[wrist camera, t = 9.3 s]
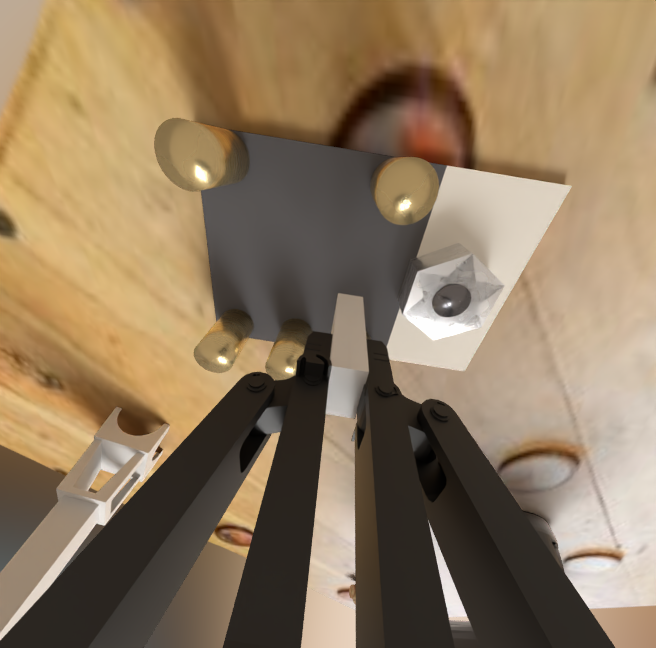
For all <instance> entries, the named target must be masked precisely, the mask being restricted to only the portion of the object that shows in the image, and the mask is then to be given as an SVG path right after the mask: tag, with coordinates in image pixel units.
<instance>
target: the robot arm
mask: <svg viewBox="0 0 656 648" xmlns="http://www.w3.org/2000/svg"><path fill="white" fill-rule="evenodd" d="M325 414H329V415H335V416H341V417H348V418H354V419H355V417H356V414H357V423H356V427H355V430H354V433H353V436H352V441H354V440H355V564H356V648H615V647H614V645H613V644H612V642H611V641H610V639H609V638H608V636H607V635H606V633H605V632H604V631H603V629H602V627H601V626H600V624H599V623H598V621H597V620H596V619H595V617H594V616H593V614H592V613H591V611H590V610H589V608H588V607H587V605H586V604H585V602H584V601H583V599H582V598H581V596H580V595H579V593H578V592H577V590H576V589H575V588H574V586H573V585H572V583H571V582H570V580H569V579H568V577H567V576H566V574H565V572H564V568H563V564H562V560H561V557H560V554H559V551H558V543H557V540H556V538H555V536H554V534H553V532H552V530H551V528H550V527H549V525H548V523H547V522H546V521H545V520H544V519H543V518H541V517H539V516H537V515H534V514H531V513H527V512H523V511H522V510H521V508H520V507H519V505H518V504H517V502H516V501H515V499H514V498H513V496H512V495H511V493H510V492H509V490H508V489H507V487H506V486H505V484H504V483H503V482H502V480H501V479H500V477H499V476H498V474H497V473H496V471H495V470H494V468H493V467H492V465H491V464H490V462H489V461H488V459H487V458H486V457H485V455H484V454H483V452H482V451H481V449H480V448H479V446H478V445H477V443H476V442H475V440H474V439H473V437H472V436H471V434H470V433H469V432H468V430H467V429H466V427H465V426H464V424H463V423H462V421H461V420H460V418H459V417H458V415H457V414H456V412H455V411H454V410H453V409H452V408H451V407H450V406H448V405H447V404H446V403H444V402H442V401H439V400H435V399H429V400H425V401H424V402H423V403H422V404H419V403H417V402H414V401H412V400H410V399H408V398H406V397H404V396H403V395H402V394H401V391H400V389H399V388H398V387H397V386H396V385H395V384H394V382H393V376H392V371H391V366H390V362H389V356H388V350H387V347H386V346H385V345H384V343H383V342H382V341H376V340H370V339H366V328H365V316H364V303H363V297H360V296H353V295H347V294H341V293H338V297H337V302H336V308H335V314H334V319H333V325H332V331H331V334H329V333H323V332H317V331H313V332H312V333H311V334H310V335H308V337H307V341H306V345H305V349H304V353H303V354H302V355H301V356H299V358H298V359H297V366H296V374H295V375H294V376H293V377H291V378H288V379H284V380H275V381H274V379H273V378H272V377H271V376H270V375H268V374H266V373H262V372H252V373H250V374H247V375H245V376H244V377H242V378H241V379H240V380H239V381H238V382H237V383H236V384H235V386H234V387H233V388H232V389H231V390H230V391H229V392H228V393H227V394H226V395H225V396H224V398H223V399H222V400H221V401H220V402H219V403H218V404H217V405H216V406H215V407H214V408H213V409H212V411H211V412H210V413H209V414H208V415H207V416H206V417H205V418H204V419H203V420H202V421H201V423H200V424H199V425H198V426H197V427H196V428H195V429H194V430H193V431H192V432H191V433H190V435H189V436H188V437H187V438H186V439H185V440H184V441H183V442H182V443H181V444H180V445H179V447H178V448H177V449H176V450H175V451H174V452H173V453H172V454H171V455H170V456H169V457H168V458H167V460H166V461H165V462H164V463H163V464H162V465H161V466H160V467H159V468H158V469H157V470H156V472H155V473H154V474H153V475H152V476H151V477H150V478H149V479H148V480H147V481H146V482H145V484H144V485H143V486H142V487H141V488H140V489H139V490H138V491H137V492H136V493H135V494H134V496H133V497H132V498H131V499H130V500H129V501H128V502H127V503H126V504H125V505H124V506H123V508H122V509H121V510H120V511H119V512H118V513H117V514H116V515H115V516H114V517H113V518H112V520H111V521H110V522H109V523H108V524H107V525H106V526H105V527H104V528H103V529H102V530H101V531H100V533H99V534H98V535H97V536H96V537H95V538H94V539H93V540H92V541H91V542H90V543H89V545H88V546H87V547H86V548H85V549H84V550H83V551H82V552H81V553H80V554H79V555H78V556H77V558H76V559H75V560H74V561H73V562H72V563H71V564H70V565H69V566H68V567H67V568H66V570H65V571H64V572H63V573H62V574H61V575H60V576H59V577H58V578H57V579H56V580H55V582H54V583H53V584H52V585H51V586H50V587H49V588H48V589H47V590H46V591H45V592H44V593H43V595H42V596H41V597H40V598H39V599H38V600H37V601H36V602H35V603H34V604H33V605H32V607H31V608H30V609H29V610H28V611H27V612H26V613H25V614H24V615H23V616H22V617H21V619H20V620H19V621H18V622H17V623H16V624H15V625H14V626H13V627H12V628H11V629H10V631H9V632H8V633H7V634H6V635H5V636H4V637H3V638H2V639H1V640H0V648H144V647H145V645H146V643H147V642H148V639H149V638H150V637H151V635H152V633H153V631H154V630H155V628H156V626H157V625H158V623H159V622H160V620H161V618H162V616H163V615H164V613H165V611H166V610H167V608H168V606H169V605H170V603H171V601H172V600H173V598H174V596H175V595H176V593H177V591H178V590H179V588H180V586H181V585H182V583H183V581H184V580H185V578H186V576H187V575H188V573H189V571H190V570H191V568H192V566H193V565H194V563H195V561H196V560H197V558H198V556H199V555H200V553H201V551H202V550H203V548H204V546H205V545H206V543H207V541H208V540H209V538H210V536H211V535H212V533H213V531H214V530H215V528H216V526H217V525H218V523H219V521H220V520H221V518H222V516H223V515H224V513H225V511H226V510H227V508H228V506H229V505H230V503H231V501H232V500H233V498H234V496H235V495H236V493H237V491H238V490H239V488H240V486H241V485H242V483H243V481H244V480H245V478H246V476H247V475H248V473H249V471H250V470H251V468H252V466H253V465H254V463H255V461H256V460H257V458H258V456H259V455H260V453H261V451H262V450H263V448H264V446H265V444H266V443H267V441H268V439H269V438H270V436H271V434H272V433H277V432H280V436H279V440H278V444H277V447H276V451H275V455H274V458H273V462H272V466H271V470H270V473H269V477H268V481H267V485H266V488H265V492H264V496H263V500H262V503H261V507H260V511H259V514H258V518H257V522H256V526H255V529H254V533H253V537H252V541H251V544H250V548H249V552H248V556H247V559H246V563H245V567H244V570H243V574H242V578H241V582H240V586H239V589H238V593H237V597H236V600H235V604H234V608H233V612H232V615H231V619H230V623H229V626H228V630H227V634H226V638H225V641H224V645H223V648H301V640H302V630H303V621H304V612H305V602H306V592H307V584H308V574H309V565H310V556H311V546H312V537H313V527H314V518H315V508H316V499H317V490H318V480H319V471H320V461H321V452H322V442H323V433H324V424H325ZM428 520H429V523H430V525H431V528H432V530H433V532H434V535H435V537H436V540H437V542H438V545H439V547H440V550H441V552H442V555H443V557H444V560H445V562H446V565H447V567H448V569H449V572H450V574H451V577H452V579H453V582H454V584H455V587H456V589H457V592H458V594H459V597H460V599H461V602H462V604H463V606H464V609H465V611H466V614H467V616H468V619H469V621H451V620H449V618H448V613H447V608H446V603H445V599H444V594H443V589H442V584H441V580H440V575H439V570H438V565H437V561H436V556H435V551H434V546H433V542H432V537H431V532H430V527H429V523H428Z"/></svg>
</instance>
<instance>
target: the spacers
mask: <svg viewBox="0 0 656 648" xmlns="http://www.w3.org/2000/svg"><path fill="white" fill-rule="evenodd" d="M154 147H155V154H156V157H157V160H158V163H159V165H160V167H161V169H162V170H163V172H164V173H165V175H166V176H167V177H168V178H169V179H170V180H171V181H172V182H173V183H174V184H175V185H177V186H178V187H180V188H182V189H185V190H188V191H201V190H206V189H210V188H215V187H220V186H225V185H229V184H234V183H238V182H240V181H242V180H243V179H244V178H245V177H246V175H247V173H248V170H249V166H250V158H249V153H248V150H247V147H246V145H245V144H244V142H243V141H242V139H241V138H240V137H239V136H238V135H237V134H235V133H234V132H232V131H230V130H227V129H223V128H219V127H215V126H210V125H206V124H202V123H198V122H193V121H189V120H185V119H181V118H172V119H168V120H166V121H165V122H163V123H162V124H161V125H160V126H159V128H158V130H157V132H156V135H155V141H154ZM370 191H371V195H372V198H373V200H374V201H375V203H376V205H377V207H378V209H379V211H380V212H381V214H382V215H383V216H384V218H385V219H387V220H388V221H390V222H391V223H394V224H397V225H408V224H412V223H415V222H417V221H419V220H421V219H422V218H423V217H425V216H426V215H427V214H428V213H429V212H430V210H431V209H432V207H433V206H434V204H435V202H436V199H437V196H438V192H439V180H438V176H437V173H436V171H435V169H434V168H433V166H432V165H431V164H430V163H429V162H427V161H426V160H424V159H421V158H417V157H396V158H390V159H387V160H385V161H384V162H382V163H381V164H380V165H379V166H378V167H377V168H376V170H375V171H374V173H373V175H372V178H371V183H370ZM253 328H254V324H253V321H252V319H251V317H250V316H249V315H248V314H247V313H245V312H244V311H241V310H238V309H230V310H227V311H226V312H224V314H223V315H222V316H221V317H220V318H219V320H218V321H217V322H216V323H215V324H214V326H213V327H212V328H211V329H210V330H209V332H208V333H207V334H206V335H205V337H204V338H203V339H202V340H201V341H200V343H199V344H198V345H197V346H196V348H195V349H194V357H195V359H196V361H197V362H198V364H199V365H200V366H202V367H203V368H205V369H206V370H208V371H211V372H215V373H223V372H226V371H228V370H230V369H231V367H232V366H233V364H234V362H235V361H236V359H237V357H238V355H239V354H240V352H241V350H242V348H243V347H244V345H245V343H246V341H247V340H248V338H249V336H250V334H251V333H252V331H253ZM311 333H312V329H311V327H310V325H309V324H308V323H306V322H305V321H303V320H301V319H289V320H287V321H285V322H284V323H283V324H282V326H281V328H280V331H279V333H278V335H277V338H276V340H275V343H274V345H273V347H272V350H271V352H270V355H269V357H268V359H267V362H266V366H265V367H266V371H267V373H268V374H269V375H270V376H271V377H272V378H273V379H274V380H284V379H288V378H291V377H293V376H294V375H295V374H296V366H297V359H298V358H299V356H301V355H302V354H303V353H304V349H305V345H306V341H307V337H308V335H310V334H311ZM366 339H370V340H371V337H370V335H369V334H368V333H367V332H366Z"/></svg>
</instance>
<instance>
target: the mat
mask: <svg viewBox="0 0 656 648" xmlns="http://www.w3.org/2000/svg"><path fill="white" fill-rule="evenodd" d="M227 130H228V129H227ZM230 131H232V132H234V133H235V134H237V135H238V136H239V137H240V138H241V139H242V141H243V142H244V144H245V145H246V147H247V150H248V153H249V158H250V166H249V170H248V173H247V175H246V177H245V178H244V179H243V180H242V181H240V182H238V183H234V184H229V185H225V186H220V187H215V188H210V189H206V190H201V195H202V203H203V212H204V220H205V229H206V237H207V246H208V254H209V263H210V271H211V280H212V288H213V297H214V305H215V313H216V322H217V321H218V320H219V318H220V317H221V316H222V315H223V314H224V312H226V311H227V310H230V309H238V310H241V311H244V312H245V313H247V314H248V315H249V316H250V317H251V319H252V321H253V324H254V328H253V331H252V333H251V334H250V336H249V338H253V339H260V340H266V341H273V342H275V340H276V338H277V335H278V333H279V331H280V328H281V326H282V324H283V323H284V322H285V321H287V320H289V319H301V320H303V321H305V322H306V323H308V324H309V325H310V327H311V329H312V332H313V331H317V332H323V333H329V334H331V331H332V325H333V319H334V314H335V308H336V302H337V297H338V293H341V294H347V295H353V296H360V297H363V303H364V316H365V328H366V332H367V333H368V334H369V335H370V337H371V340H376V341H382V342H383V343H384V345H385V346H386V347H387V350H388V356H389V360H394V361H401V362H407V363H414V364H420V365H426V366H433V367H439V368H446V369H452V370H458V371H465V370H466V368H467V366H468V364H469V363H470V361H471V359H472V357H473V356H474V354H475V352H476V351H477V349H478V347H479V345H480V344H481V342H482V340H483V339H484V337H485V335H486V333H487V332H488V330H489V328H490V326H491V325H492V323H493V321H494V320H495V318H496V316H497V314H498V313H499V311H500V309H501V307H502V306H503V304H504V302H505V301H506V299H507V297H508V295H509V294H510V292H511V290H512V289H513V287H514V285H515V283H516V282H517V280H518V278H519V276H520V275H521V273H522V271H523V270H524V268H525V266H526V264H527V263H528V261H529V259H530V258H531V256H532V254H533V252H534V251H535V249H536V247H537V245H538V244H539V242H540V240H541V239H542V237H543V235H544V233H545V232H546V230H547V228H548V226H549V225H550V223H551V221H552V220H553V218H554V216H555V214H556V213H557V211H558V209H559V208H560V206H561V204H562V202H563V201H564V199H565V197H566V195H567V194H568V192H569V190H570V189H571V187H572V186H568V185H562V184H556V183H550V182H544V181H538V180H532V179H526V178H520V177H514V176H508V175H502V174H495V173H489V172H483V171H477V170H471V169H465V168H459V167H453V166H447V165H441V164H435V163H430V164H431V165H432V166H433V168H434V169H435V171H436V173H437V176H438V180H439V192H438V196H437V199H436V202H435V204H434V206H433V207H432V209H431V210H430V212H429V213H428V214H427V215H426V216H425V217H423V218H422V219H421V220H419V221H417V222H415V223H412V224H408V225H397V224H394V223H391V222H390V221H388V220H387V219H385V218H384V216H383V215H382V214H381V212H380V211H379V209H378V207H377V205H376V203H375V201H374V200H373V198H372V195H371V191H370V183H371V178H372V175H373V173H374V171H375V170H376V168H377V167H378V166H379V165H380V164H381V163H382V162H384V161H385V160H387V159H390V158H396V157H392V156H386V155H380V154H374V153H368V152H362V151H356V150H350V149H344V148H338V147H332V146H325V145H319V144H313V143H307V142H301V141H295V140H289V139H283V138H277V137H271V136H265V135H259V134H253V133H246V132H240V131H234V130H230ZM457 243H460V244H461V245H462V246H464V247H465V248H466V249H467V250H469V251H470V252H471V253H473V254H474V255H475V256H476V257H477V258H478V259H479V260H480V261H481V262H482V263H483V264H484V265H485V266H486V267H487V268H488V269H489V270H490V271H491V272H492V273H493V274H494V275H495V276H496V277H497V278H498V279H499V280H500V281H501V282H502V283H503V284H504V285H505V286H504V288H503V290H502V292H501V293H500V295H499V297H498V299H497V300H496V302H495V304H494V306H493V308H492V309H491V311H490V313H489V315H488V317H487V318H486V320H485V322H484V324H483V325H482V327H481V328H478V329H474V330H470V331H466V332H462V333H458V334H454V335H450V336H446V337H443V338H439V339H435V340H433V339H432V338H431V337H429V336H428V335H427V334H426V333H424V332H423V331H422V330H421V329H419V328H418V327H417V326H416V325H414V324H413V323H412V322H411V321H409V320H408V319H407V318H406V317H404V316H403V315H402V312H401V309H400V306H399V303H398V300H397V299H398V296H399V293H400V290H401V287H402V284H403V281H404V278H405V275H406V272H407V269H408V265H409V262H410V259H413V258H416V257H419V256H422V255H425V254H428V253H431V252H434V251H436V250H439V249H442V248H445V247H448V246H451V245H454V244H457Z"/></svg>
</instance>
